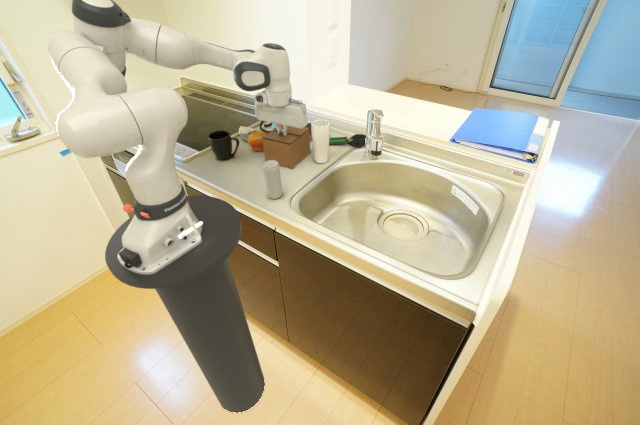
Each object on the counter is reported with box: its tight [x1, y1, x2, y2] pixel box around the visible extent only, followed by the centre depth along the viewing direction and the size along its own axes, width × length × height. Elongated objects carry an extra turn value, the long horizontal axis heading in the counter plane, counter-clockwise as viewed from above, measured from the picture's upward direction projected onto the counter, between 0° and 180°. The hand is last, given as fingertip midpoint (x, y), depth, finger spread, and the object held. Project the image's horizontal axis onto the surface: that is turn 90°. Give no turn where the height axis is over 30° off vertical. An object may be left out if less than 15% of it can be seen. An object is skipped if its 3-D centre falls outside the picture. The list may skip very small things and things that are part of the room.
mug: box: [207, 129, 240, 161], centre depth 121 cm, size 8×12×10 cm
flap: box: [262, 130, 300, 144], centre depth 115 cm, size 7×12×1 cm, turn 62°
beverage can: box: [262, 160, 283, 200], centre depth 100 cm, size 5×5×12 cm
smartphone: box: [305, 122, 312, 137], centre depth 141 cm, size 7×1×15 cm
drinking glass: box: [310, 119, 331, 164], centre depth 116 cm, size 7×7×15 cm
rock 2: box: [346, 133, 367, 148], centre depth 129 cm, size 9×7×5 cm
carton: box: [262, 124, 311, 169], centre depth 120 cm, size 14×12×10 cm
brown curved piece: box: [259, 120, 272, 134], centre depth 144 cm, size 13×5×10 cm
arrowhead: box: [238, 125, 257, 135], centre depth 141 cm, size 8×2×10 cm
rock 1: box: [239, 133, 252, 142], centre depth 135 cm, size 9×2×5 cm
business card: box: [329, 136, 348, 145], centre depth 131 cm, size 9×1×5 cm
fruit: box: [247, 130, 267, 152], centre depth 127 cm, size 8×8×8 cm
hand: (282, 134), depth 116 cm, fingers closed, pressing on flap
